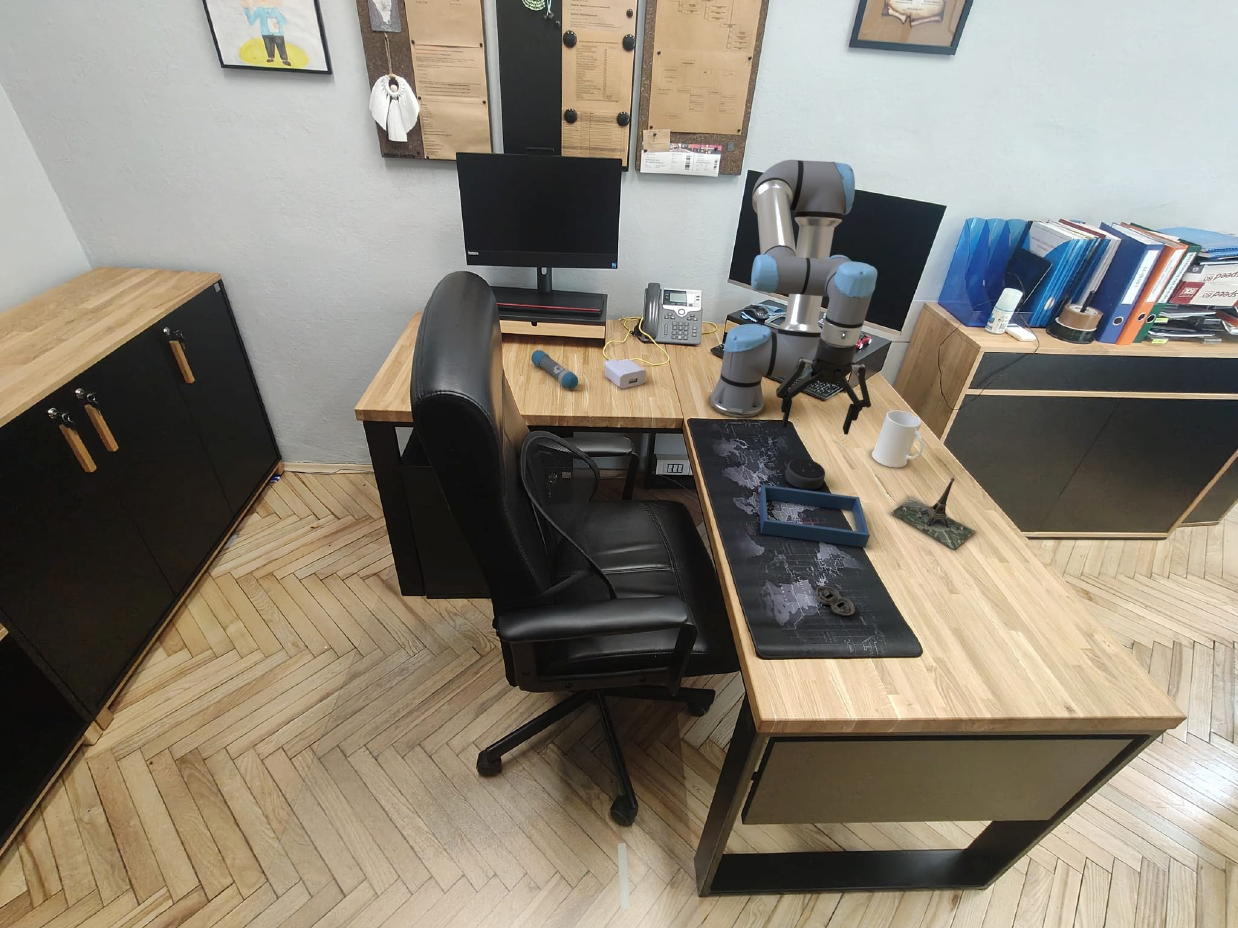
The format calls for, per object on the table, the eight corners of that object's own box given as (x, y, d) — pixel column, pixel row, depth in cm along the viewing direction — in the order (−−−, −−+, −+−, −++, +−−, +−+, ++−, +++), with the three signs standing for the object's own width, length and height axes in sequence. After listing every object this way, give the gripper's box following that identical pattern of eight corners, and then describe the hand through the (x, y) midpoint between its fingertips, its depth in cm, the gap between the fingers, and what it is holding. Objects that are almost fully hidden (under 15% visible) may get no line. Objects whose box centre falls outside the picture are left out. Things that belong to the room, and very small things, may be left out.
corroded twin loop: (842, 623, 107) (844, 619, 106) (808, 594, 112) (809, 591, 111) (860, 611, 109) (861, 607, 108) (825, 584, 114) (826, 580, 114)
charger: (620, 364, 192) (645, 383, 182) (595, 370, 188) (619, 389, 178) (620, 350, 189) (646, 369, 179) (595, 356, 185) (620, 375, 175)
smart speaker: (777, 480, 142) (780, 467, 140) (795, 466, 148) (799, 452, 146) (810, 497, 138) (814, 483, 135) (828, 481, 143) (832, 467, 141)
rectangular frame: (758, 496, 137) (761, 484, 135) (854, 509, 135) (859, 496, 133) (760, 533, 126) (763, 520, 124) (865, 547, 124) (870, 535, 122)
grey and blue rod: (544, 362, 191) (544, 348, 188) (581, 389, 177) (581, 374, 174) (531, 365, 189) (530, 351, 186) (566, 393, 174) (566, 378, 171)
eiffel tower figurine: (888, 514, 133) (907, 465, 126) (911, 498, 139) (930, 450, 131) (953, 551, 124) (978, 501, 116) (975, 532, 130) (1000, 483, 122)
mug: (923, 471, 148) (940, 430, 141) (897, 477, 146) (913, 436, 139) (890, 447, 157) (904, 407, 150) (864, 452, 154) (878, 412, 148)
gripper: (778, 342, 121) (759, 430, 133) (905, 355, 118) (874, 443, 131) (776, 328, 127) (758, 413, 139) (896, 340, 124) (867, 425, 137)
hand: (814, 428), depth 135 cm, fingers open, 13 cm apart
